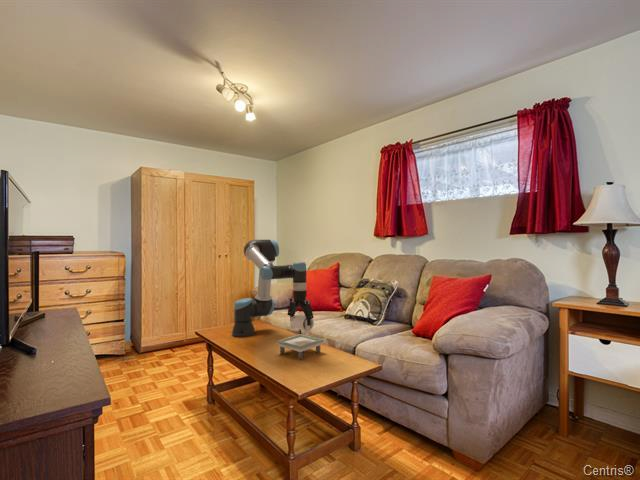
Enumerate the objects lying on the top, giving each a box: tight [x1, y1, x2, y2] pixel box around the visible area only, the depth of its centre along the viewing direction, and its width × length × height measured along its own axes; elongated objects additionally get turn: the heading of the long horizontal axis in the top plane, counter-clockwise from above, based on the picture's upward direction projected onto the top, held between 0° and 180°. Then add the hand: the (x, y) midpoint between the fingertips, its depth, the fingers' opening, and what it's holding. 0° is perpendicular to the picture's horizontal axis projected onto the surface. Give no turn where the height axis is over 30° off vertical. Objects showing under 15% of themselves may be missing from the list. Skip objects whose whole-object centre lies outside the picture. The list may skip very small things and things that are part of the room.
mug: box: [289, 313, 315, 332], centre depth 190 cm, size 12×10×8 cm
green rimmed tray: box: [276, 333, 324, 361], centre depth 190 cm, size 18×18×7 cm
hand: (300, 329), depth 190 cm, fingers closed on mug, 11 cm apart
